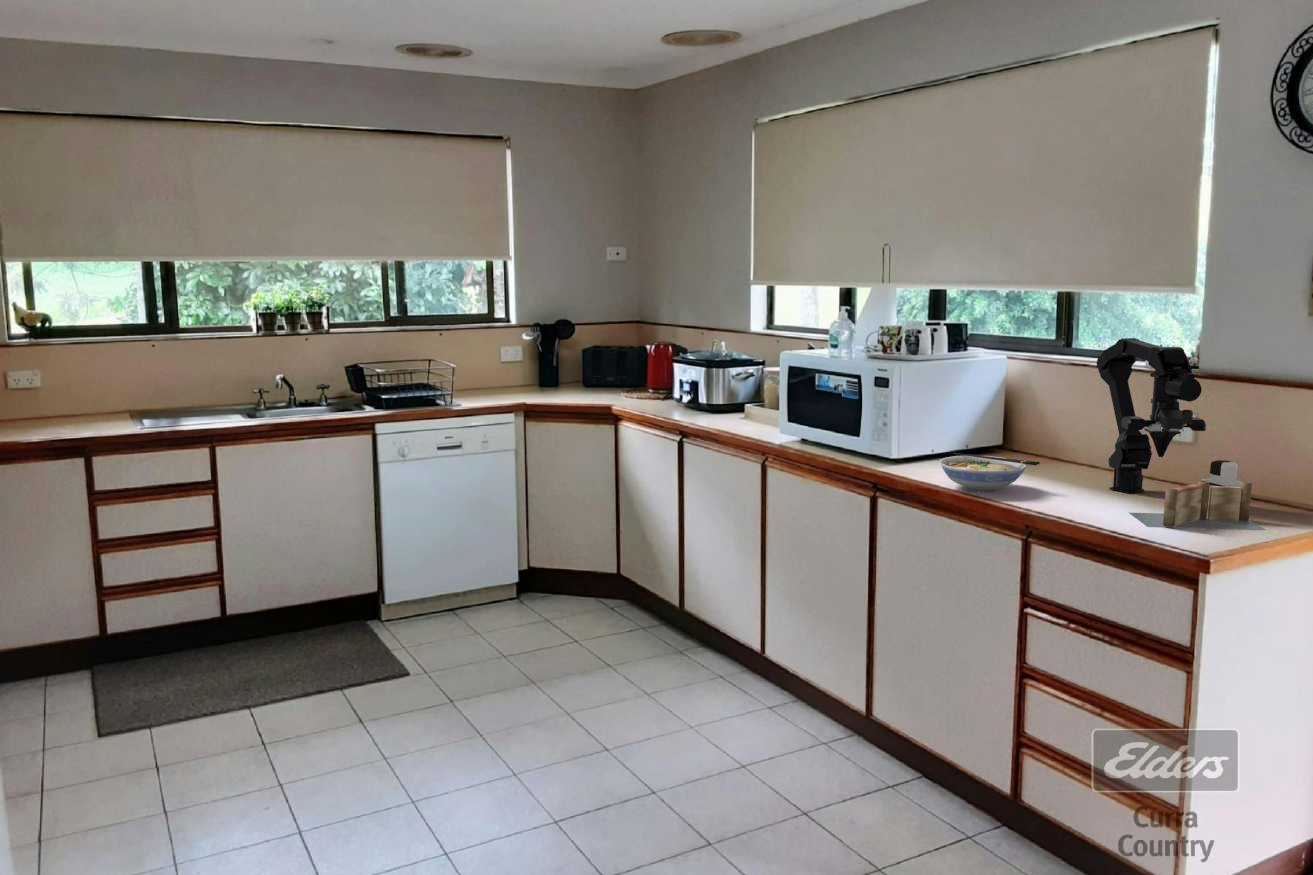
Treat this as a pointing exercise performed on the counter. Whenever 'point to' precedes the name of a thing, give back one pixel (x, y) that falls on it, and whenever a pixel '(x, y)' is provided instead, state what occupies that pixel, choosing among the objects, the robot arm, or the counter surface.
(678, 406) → the counter surface
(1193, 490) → the fence gate
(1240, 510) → the fence fixed
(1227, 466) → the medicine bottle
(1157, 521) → the card
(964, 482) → the ramen bowl
